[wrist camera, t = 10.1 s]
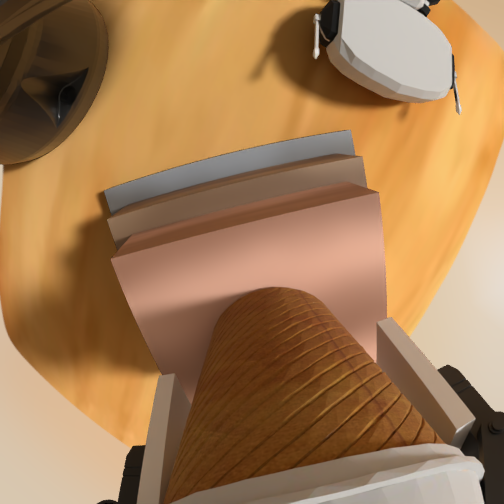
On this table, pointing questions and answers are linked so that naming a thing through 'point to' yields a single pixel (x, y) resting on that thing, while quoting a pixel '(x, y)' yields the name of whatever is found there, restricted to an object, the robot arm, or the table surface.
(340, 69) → the robot toy
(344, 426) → the disposable coffee cup
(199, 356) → the pink brown stepped block
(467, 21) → the table surface
